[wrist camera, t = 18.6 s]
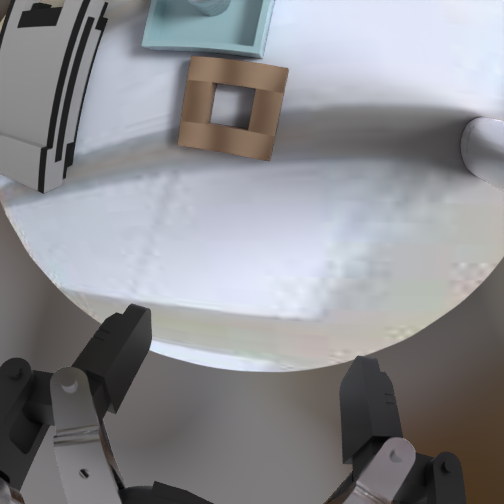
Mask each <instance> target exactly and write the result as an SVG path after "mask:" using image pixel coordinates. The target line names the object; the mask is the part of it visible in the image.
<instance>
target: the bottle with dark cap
mask: <svg viewBox="0 0 504 504" xmlns="http://www.w3.org/2000/svg"><path fill="white" fill-rule="evenodd" d="M186 1H187V2H188V3H190V4H191V5H192V6H193V7H194V8H196V9H197V10H198V11H199V12H200V13H201V14H203V15H205V16H217V15H220V14H222V13H223V12H225V11H226V10H227V9H228V7H229V6H230V3H231V0H186Z"/></svg>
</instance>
